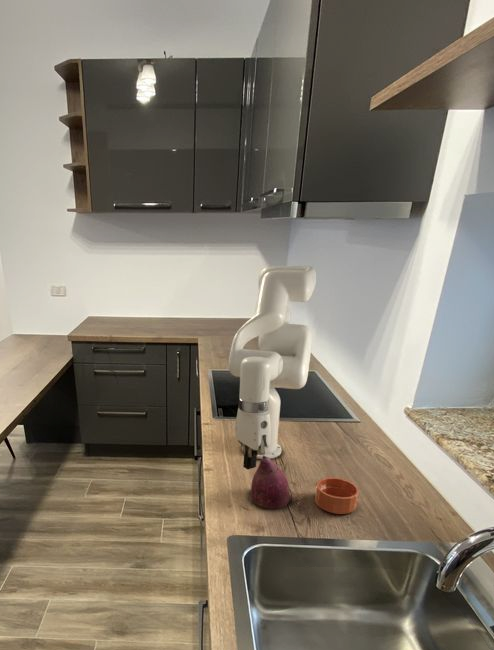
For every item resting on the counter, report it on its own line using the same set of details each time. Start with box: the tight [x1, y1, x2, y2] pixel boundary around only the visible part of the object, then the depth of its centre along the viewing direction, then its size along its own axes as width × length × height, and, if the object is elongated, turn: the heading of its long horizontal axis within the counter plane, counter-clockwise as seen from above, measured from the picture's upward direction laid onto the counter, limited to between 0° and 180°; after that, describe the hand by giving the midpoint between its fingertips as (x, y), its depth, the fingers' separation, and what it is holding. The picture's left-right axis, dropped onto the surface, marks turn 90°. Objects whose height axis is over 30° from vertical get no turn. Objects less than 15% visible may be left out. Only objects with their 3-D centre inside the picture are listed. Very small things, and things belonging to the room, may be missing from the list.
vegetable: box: [250, 455, 291, 510], centre depth 115 cm, size 10×10×15 cm
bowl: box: [314, 476, 360, 515], centre depth 114 cm, size 10×10×5 cm
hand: (249, 467), depth 123 cm, fingers closed
